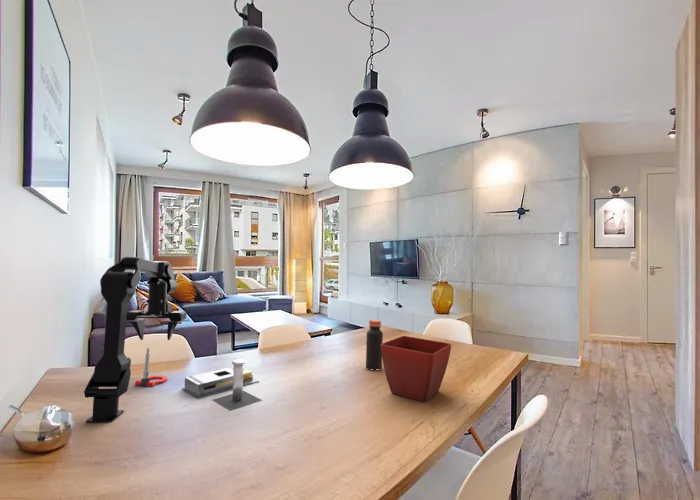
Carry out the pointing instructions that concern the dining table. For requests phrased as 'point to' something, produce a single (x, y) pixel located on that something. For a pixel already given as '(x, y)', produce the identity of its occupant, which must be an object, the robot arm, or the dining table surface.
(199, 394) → the windowed slide housing
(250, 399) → the rubber mat
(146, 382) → the tow hook
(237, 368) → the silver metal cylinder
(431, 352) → the plant pot
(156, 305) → the robot arm
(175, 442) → the dining table surface
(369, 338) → the bottle
